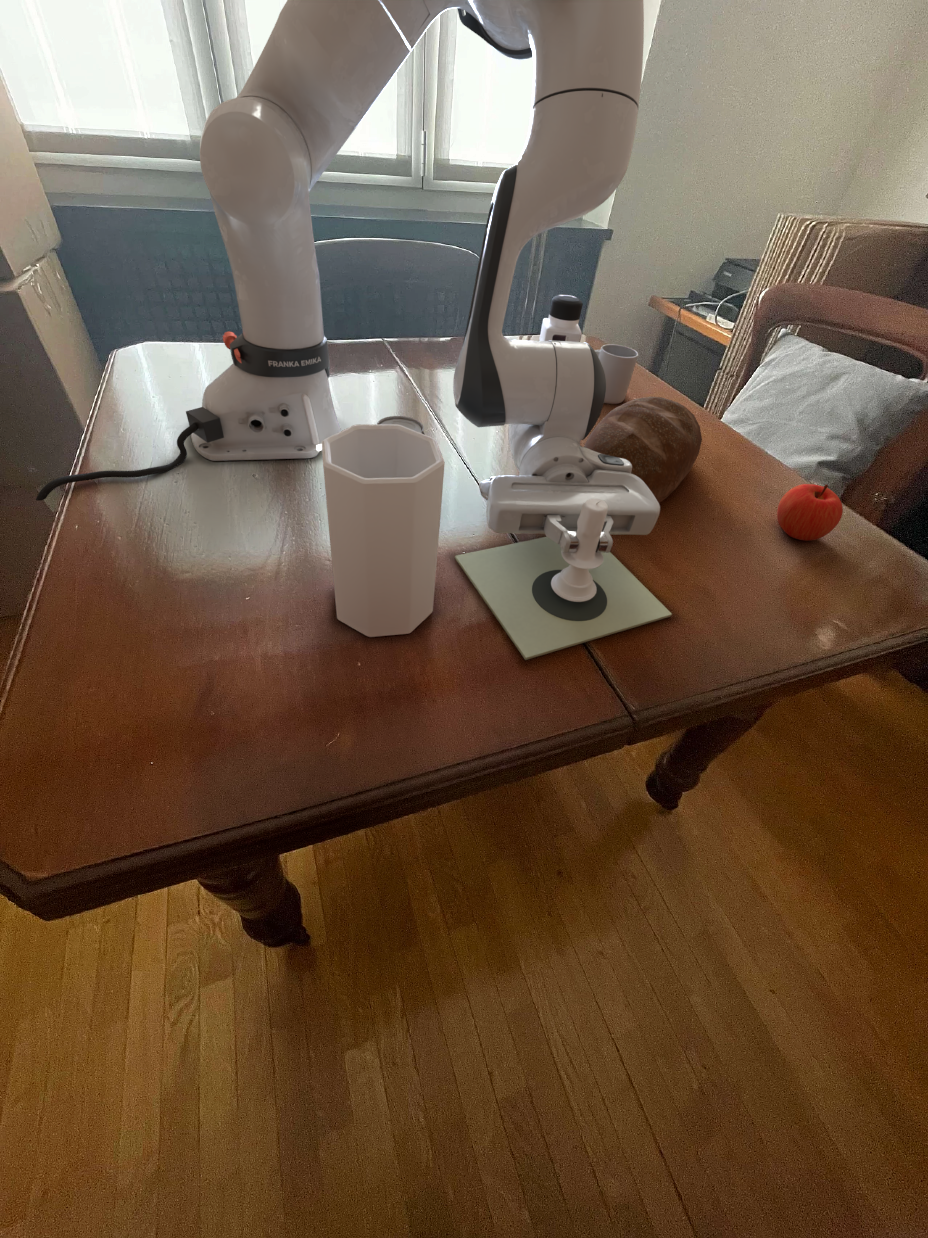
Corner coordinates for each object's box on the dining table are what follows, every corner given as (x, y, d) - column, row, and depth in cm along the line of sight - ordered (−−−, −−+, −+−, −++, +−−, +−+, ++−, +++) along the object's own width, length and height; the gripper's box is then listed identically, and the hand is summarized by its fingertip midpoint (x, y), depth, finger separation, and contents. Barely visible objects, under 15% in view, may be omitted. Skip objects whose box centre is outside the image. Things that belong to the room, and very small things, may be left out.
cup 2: (614, 407, 107) (628, 360, 101) (571, 391, 111) (581, 344, 105) (630, 398, 112) (644, 352, 105) (588, 382, 116) (599, 337, 109)
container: (573, 370, 120) (589, 304, 111) (539, 366, 120) (551, 300, 111) (569, 357, 126) (583, 294, 117) (536, 354, 125) (548, 290, 116)
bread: (551, 493, 82) (569, 419, 74) (621, 429, 100) (641, 365, 92) (650, 533, 76) (680, 459, 69) (704, 458, 95) (733, 393, 87)
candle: (605, 592, 64) (635, 505, 55) (571, 608, 61) (597, 519, 53) (574, 567, 67) (598, 480, 58) (541, 581, 64) (561, 493, 56)
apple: (773, 511, 84) (801, 464, 79) (828, 532, 82) (860, 484, 76) (761, 533, 79) (789, 484, 74) (819, 556, 77) (853, 507, 71)
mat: (525, 660, 57) (526, 657, 57) (454, 558, 68) (455, 554, 68) (671, 616, 64) (672, 613, 64) (585, 530, 75) (586, 527, 75)
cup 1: (420, 648, 57) (430, 493, 44) (317, 627, 57) (297, 468, 44) (442, 581, 65) (456, 433, 52) (351, 563, 65) (342, 413, 52)
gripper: (479, 454, 65) (498, 522, 55) (641, 460, 68) (685, 525, 58) (474, 500, 69) (490, 570, 59) (625, 503, 72) (664, 570, 63)
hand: (588, 547), depth 59 cm, fingers closed on candle, 2 cm apart
